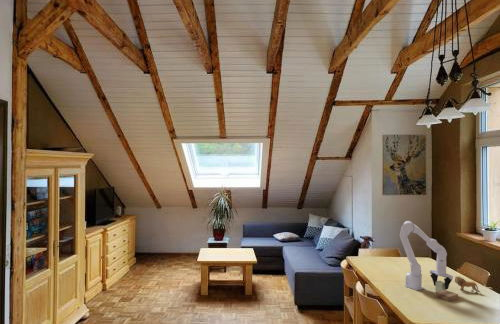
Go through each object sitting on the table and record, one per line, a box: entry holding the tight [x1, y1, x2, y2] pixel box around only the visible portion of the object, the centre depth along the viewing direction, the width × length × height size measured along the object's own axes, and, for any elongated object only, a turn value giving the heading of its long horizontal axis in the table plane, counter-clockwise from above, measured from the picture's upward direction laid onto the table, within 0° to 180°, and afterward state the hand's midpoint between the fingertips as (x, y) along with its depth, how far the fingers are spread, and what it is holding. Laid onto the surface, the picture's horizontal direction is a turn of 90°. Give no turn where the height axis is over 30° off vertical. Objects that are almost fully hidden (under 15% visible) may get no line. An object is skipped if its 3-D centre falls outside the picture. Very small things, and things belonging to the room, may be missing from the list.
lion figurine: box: [454, 275, 481, 295], centre depth 242 cm, size 15×5×9 cm, turn 66°
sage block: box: [434, 280, 447, 292], centre depth 241 cm, size 4×4×6 cm
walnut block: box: [434, 289, 459, 303], centre depth 229 cm, size 9×9×4 cm
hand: (440, 287), depth 241 cm, fingers open, 7 cm apart
